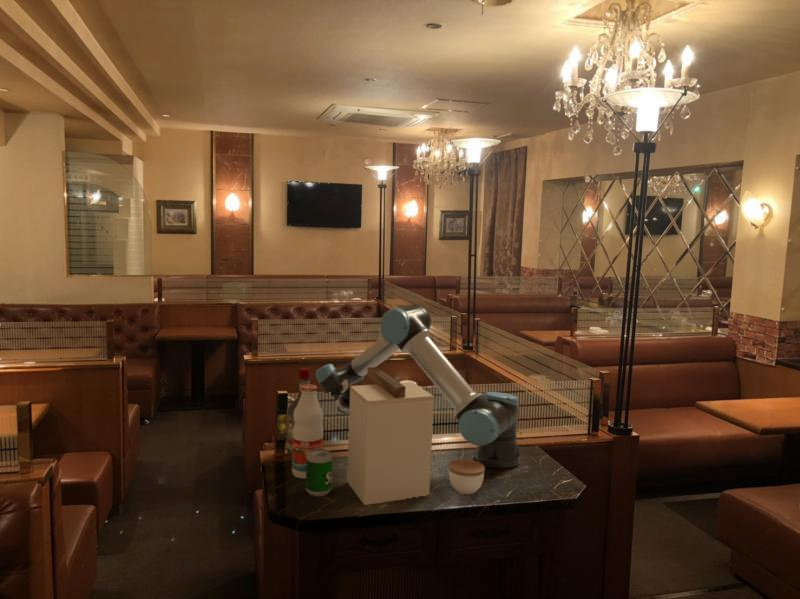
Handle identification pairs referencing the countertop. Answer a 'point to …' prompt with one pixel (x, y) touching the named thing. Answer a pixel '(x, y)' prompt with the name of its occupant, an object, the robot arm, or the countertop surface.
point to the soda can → (319, 472)
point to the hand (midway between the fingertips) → (367, 382)
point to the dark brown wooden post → (386, 382)
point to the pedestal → (389, 443)
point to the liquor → (303, 380)
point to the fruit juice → (306, 429)
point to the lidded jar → (466, 475)
